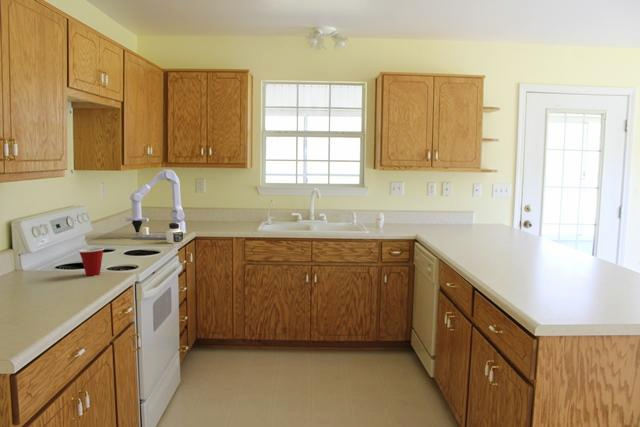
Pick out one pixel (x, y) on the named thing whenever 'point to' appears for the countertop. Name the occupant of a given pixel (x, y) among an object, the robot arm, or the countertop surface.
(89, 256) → the plastic cup
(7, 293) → the countertop surface
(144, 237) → the console
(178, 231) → the medicine bottle
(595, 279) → the countertop surface
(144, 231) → the fader
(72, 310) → the countertop surface
